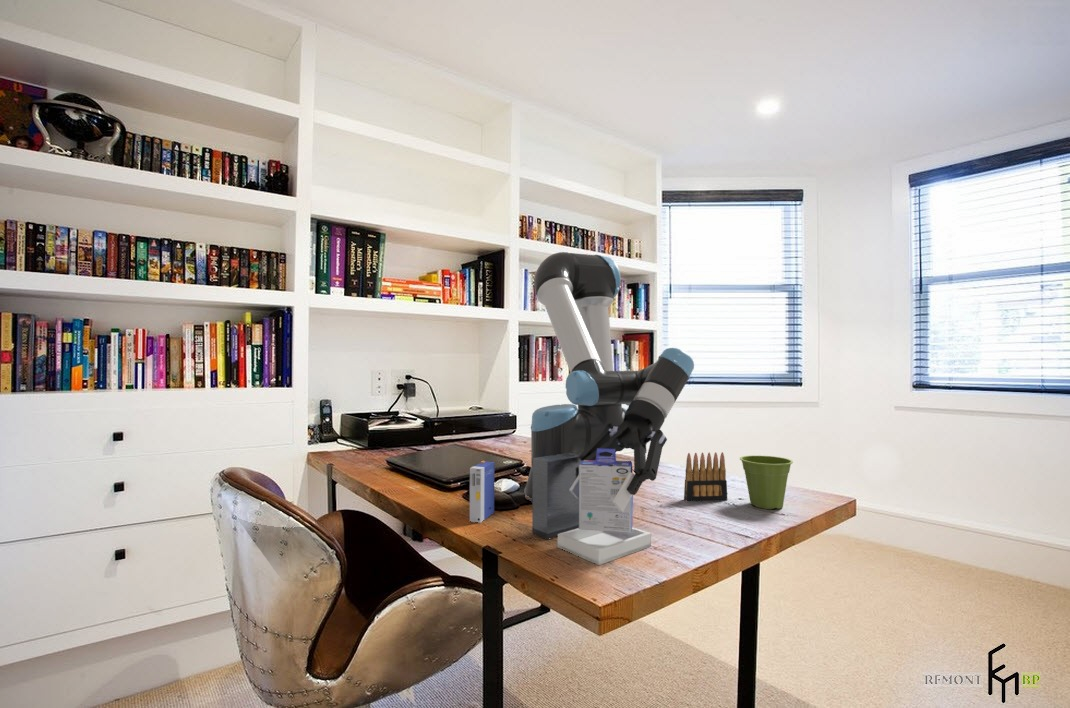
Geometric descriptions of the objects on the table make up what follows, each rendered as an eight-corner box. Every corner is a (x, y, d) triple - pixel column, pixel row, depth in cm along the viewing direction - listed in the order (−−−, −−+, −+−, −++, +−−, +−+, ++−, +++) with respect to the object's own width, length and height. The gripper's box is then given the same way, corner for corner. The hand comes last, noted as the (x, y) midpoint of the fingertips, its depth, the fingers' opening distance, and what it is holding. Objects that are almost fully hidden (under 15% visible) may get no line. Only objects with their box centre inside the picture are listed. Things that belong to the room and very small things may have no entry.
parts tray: (557, 547, 95) (557, 534, 95) (609, 531, 104) (609, 519, 104) (598, 565, 87) (598, 550, 87) (651, 546, 96) (651, 533, 96)
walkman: (483, 511, 118) (483, 459, 118) (494, 512, 117) (494, 460, 117) (468, 522, 110) (468, 466, 110) (480, 523, 109) (480, 467, 110)
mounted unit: (530, 532, 103) (531, 457, 104) (593, 516, 115) (593, 448, 115) (548, 540, 99) (548, 462, 99) (611, 522, 111) (611, 451, 111)
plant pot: (786, 500, 128) (785, 455, 128) (799, 514, 117) (799, 465, 117) (736, 497, 131) (736, 453, 131) (744, 511, 119) (744, 462, 119)
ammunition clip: (724, 498, 130) (724, 451, 130) (727, 500, 128) (727, 452, 128) (683, 499, 129) (683, 452, 129) (686, 501, 127) (686, 453, 127)
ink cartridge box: (633, 524, 97) (632, 448, 97) (633, 533, 92) (632, 453, 92) (581, 521, 99) (581, 446, 99) (578, 530, 94) (578, 451, 94)
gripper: (706, 427, 97) (654, 527, 86) (615, 417, 114) (563, 499, 104) (689, 401, 93) (634, 501, 83) (598, 395, 111) (543, 477, 101)
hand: (594, 500), depth 94 cm, fingers closed on ink cartridge box, 10 cm apart
